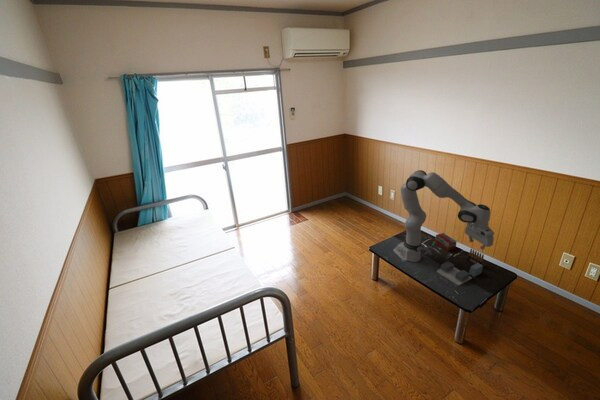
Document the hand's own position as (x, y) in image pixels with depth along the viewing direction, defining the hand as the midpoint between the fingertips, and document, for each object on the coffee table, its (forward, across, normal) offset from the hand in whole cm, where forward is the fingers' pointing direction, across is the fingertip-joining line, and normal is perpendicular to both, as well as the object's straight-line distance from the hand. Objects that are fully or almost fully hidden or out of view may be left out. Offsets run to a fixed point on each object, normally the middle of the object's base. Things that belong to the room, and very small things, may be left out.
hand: (476, 245), depth 194 cm
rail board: (+26, -4, -11) cm, 28 cm away
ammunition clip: (+26, -10, +12) cm, 30 cm away
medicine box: (+26, -38, +8) cm, 46 cm away
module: (+26, -1, +4) cm, 26 cm away
